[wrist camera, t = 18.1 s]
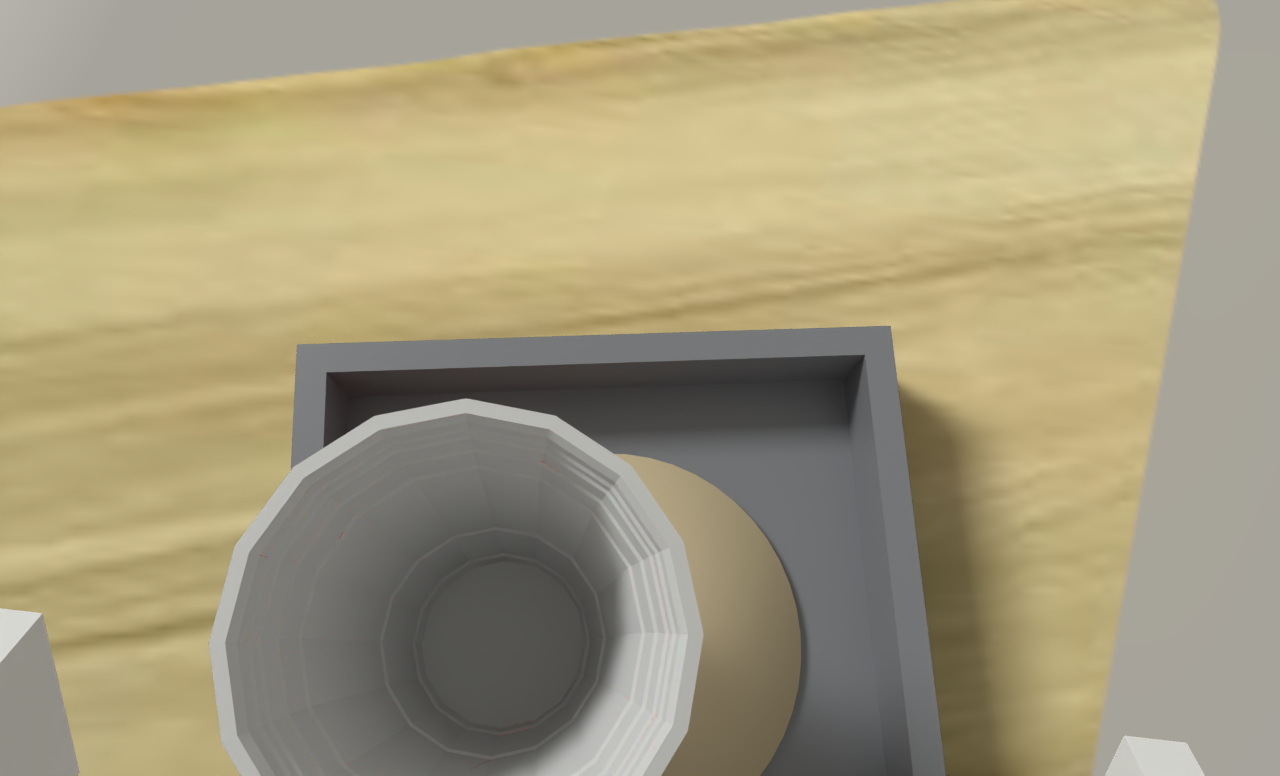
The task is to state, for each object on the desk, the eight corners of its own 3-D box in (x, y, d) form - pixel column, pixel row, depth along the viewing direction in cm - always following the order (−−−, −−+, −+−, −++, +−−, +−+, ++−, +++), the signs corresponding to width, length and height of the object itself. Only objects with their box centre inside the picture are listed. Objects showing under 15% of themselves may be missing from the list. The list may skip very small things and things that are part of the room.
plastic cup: (407, 884, 31) (295, 1011, 19) (297, 563, 34) (141, 508, 22) (721, 736, 33) (789, 773, 21) (593, 441, 35) (591, 329, 24)
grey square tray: (304, 986, 31) (262, 1030, 27) (328, 378, 37) (297, 344, 33) (927, 945, 32) (971, 982, 28) (860, 361, 38) (890, 326, 34)
